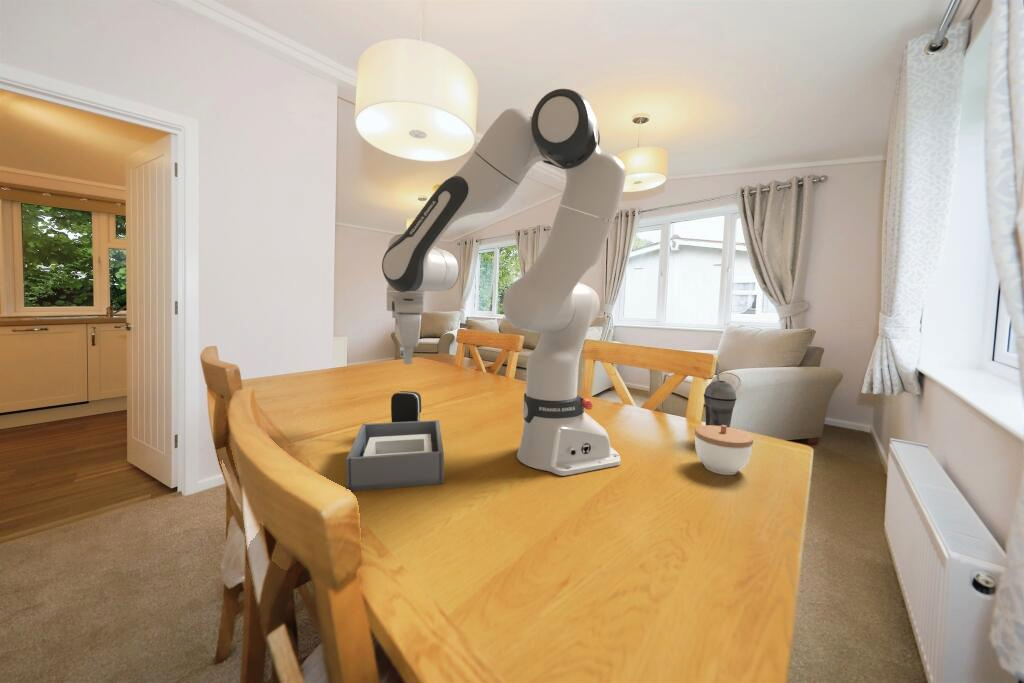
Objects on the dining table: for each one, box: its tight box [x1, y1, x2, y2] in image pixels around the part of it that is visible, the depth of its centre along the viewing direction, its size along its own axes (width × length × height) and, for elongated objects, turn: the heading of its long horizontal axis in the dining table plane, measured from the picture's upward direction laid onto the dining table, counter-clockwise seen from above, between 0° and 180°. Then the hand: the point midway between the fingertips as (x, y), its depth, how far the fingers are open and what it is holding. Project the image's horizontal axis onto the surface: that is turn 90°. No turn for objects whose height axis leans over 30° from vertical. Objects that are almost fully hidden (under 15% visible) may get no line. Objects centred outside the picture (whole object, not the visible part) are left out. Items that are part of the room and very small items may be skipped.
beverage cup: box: [703, 362, 738, 428], centre depth 97 cm, size 7×7×20 cm
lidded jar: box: [694, 424, 754, 476], centre depth 82 cm, size 11×11×9 cm
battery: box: [390, 390, 422, 422], centre depth 97 cm, size 7×4×11 cm, turn 81°
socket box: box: [345, 419, 445, 492], centre depth 81 cm, size 17×20×6 cm
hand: (405, 360), depth 96 cm, fingers open, 8 cm apart
